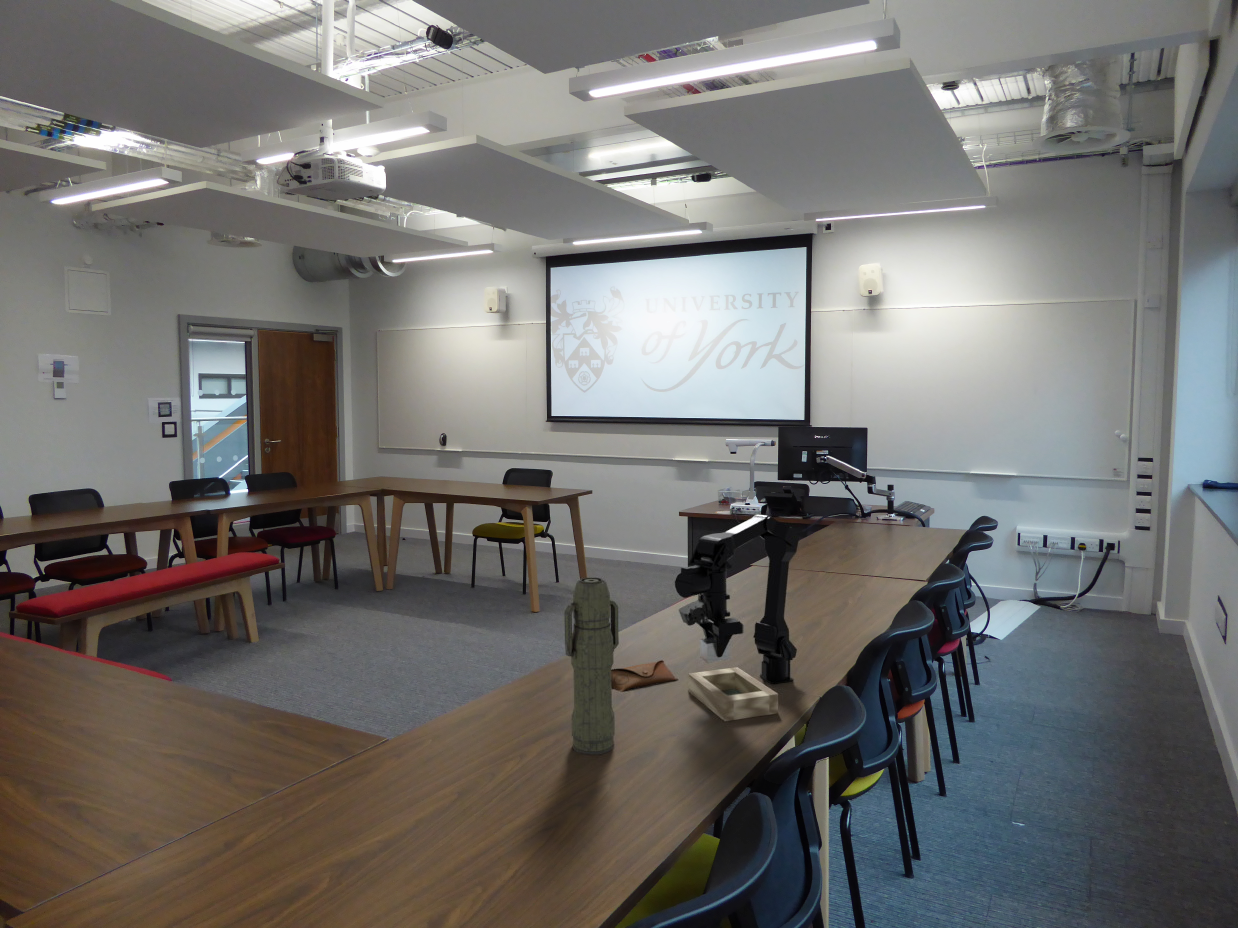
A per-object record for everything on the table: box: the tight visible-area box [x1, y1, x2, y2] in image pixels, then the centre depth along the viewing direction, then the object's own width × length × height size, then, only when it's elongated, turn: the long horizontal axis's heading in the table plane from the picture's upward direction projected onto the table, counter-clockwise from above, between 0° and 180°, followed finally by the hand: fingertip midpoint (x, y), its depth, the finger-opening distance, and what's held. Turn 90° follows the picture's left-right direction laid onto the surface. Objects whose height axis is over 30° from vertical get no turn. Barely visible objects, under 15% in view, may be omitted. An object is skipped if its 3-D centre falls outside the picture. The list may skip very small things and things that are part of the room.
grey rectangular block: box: [699, 637, 731, 664], centre depth 189 cm, size 6×4×4 cm, turn 108°
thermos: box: [563, 577, 620, 756], centre depth 165 cm, size 9×12×35 cm
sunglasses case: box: [611, 659, 679, 693], centre depth 205 cm, size 18×7×7 cm
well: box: [687, 666, 779, 722], centre depth 189 cm, size 14×20×4 cm
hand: (715, 654), depth 189 cm, fingers closed on grey rectangular block, 4 cm apart
